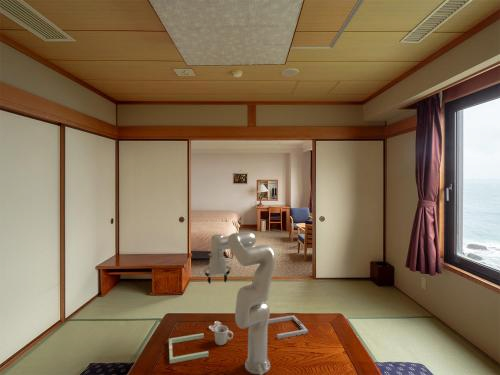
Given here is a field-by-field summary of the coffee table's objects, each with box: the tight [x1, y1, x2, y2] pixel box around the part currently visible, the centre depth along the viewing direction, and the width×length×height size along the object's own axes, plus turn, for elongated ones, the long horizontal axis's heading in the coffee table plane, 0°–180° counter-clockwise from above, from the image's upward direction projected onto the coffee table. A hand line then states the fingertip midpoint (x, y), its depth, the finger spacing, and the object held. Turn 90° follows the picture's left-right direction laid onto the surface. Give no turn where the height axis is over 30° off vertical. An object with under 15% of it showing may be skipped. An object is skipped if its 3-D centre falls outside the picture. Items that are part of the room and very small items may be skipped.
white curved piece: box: [208, 320, 221, 332], centre depth 173 cm, size 9×8×4 cm
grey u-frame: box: [268, 315, 309, 340], centre depth 173 cm, size 19×20×3 cm
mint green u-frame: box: [168, 332, 209, 364], centre depth 151 cm, size 19×20×3 cm
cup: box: [213, 324, 234, 346], centre depth 157 cm, size 11×8×8 cm
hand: (217, 282), depth 172 cm, fingers open, 9 cm apart
